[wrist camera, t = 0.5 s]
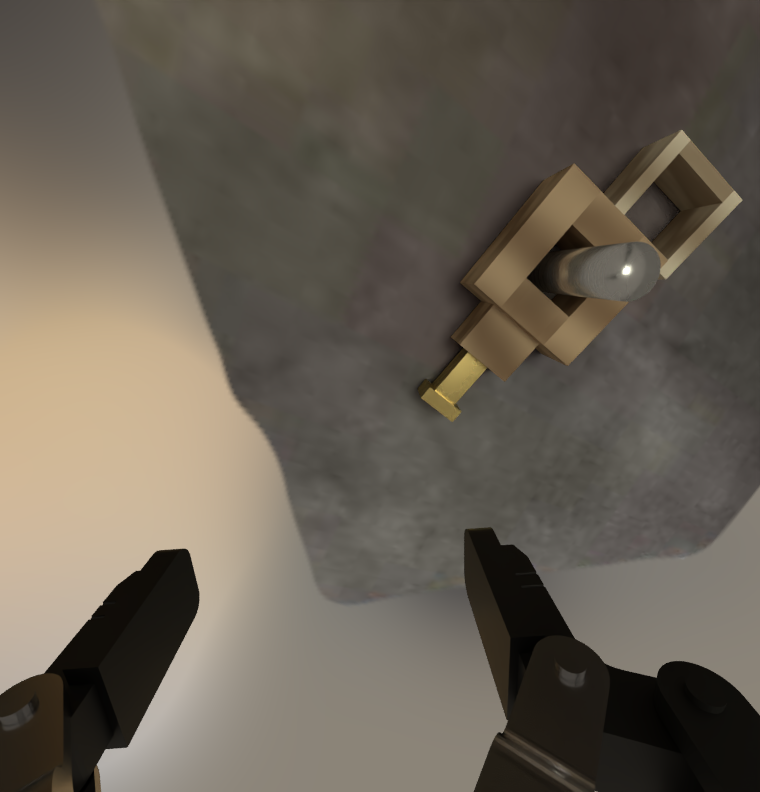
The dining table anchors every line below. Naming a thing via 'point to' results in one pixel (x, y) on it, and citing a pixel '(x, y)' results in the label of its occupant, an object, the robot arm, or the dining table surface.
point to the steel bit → (599, 271)
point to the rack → (677, 194)
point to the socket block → (520, 299)
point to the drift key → (452, 384)
